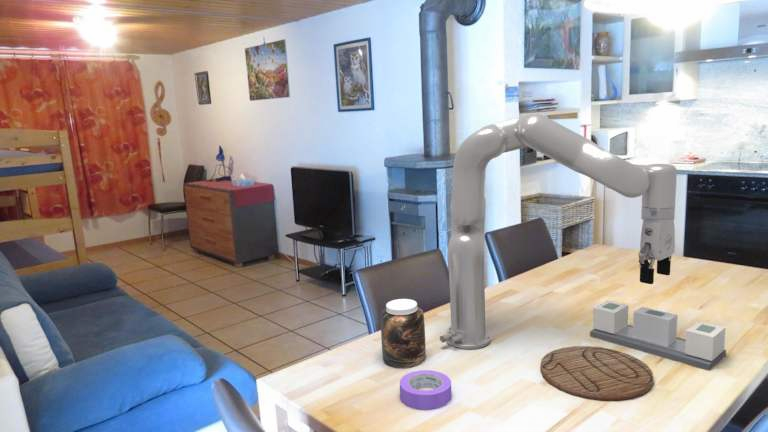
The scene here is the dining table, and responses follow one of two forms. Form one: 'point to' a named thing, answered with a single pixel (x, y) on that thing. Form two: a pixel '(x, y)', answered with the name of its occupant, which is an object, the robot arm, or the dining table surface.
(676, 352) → the rail panel
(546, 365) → the trivet
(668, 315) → the module block
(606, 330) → the mounted modules
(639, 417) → the dining table surface
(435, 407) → the masking tape
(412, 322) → the jar
